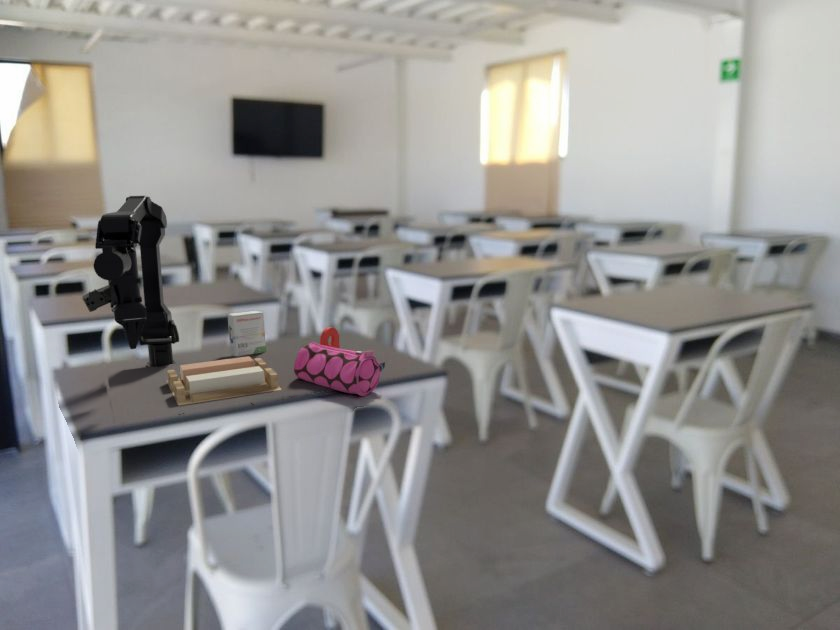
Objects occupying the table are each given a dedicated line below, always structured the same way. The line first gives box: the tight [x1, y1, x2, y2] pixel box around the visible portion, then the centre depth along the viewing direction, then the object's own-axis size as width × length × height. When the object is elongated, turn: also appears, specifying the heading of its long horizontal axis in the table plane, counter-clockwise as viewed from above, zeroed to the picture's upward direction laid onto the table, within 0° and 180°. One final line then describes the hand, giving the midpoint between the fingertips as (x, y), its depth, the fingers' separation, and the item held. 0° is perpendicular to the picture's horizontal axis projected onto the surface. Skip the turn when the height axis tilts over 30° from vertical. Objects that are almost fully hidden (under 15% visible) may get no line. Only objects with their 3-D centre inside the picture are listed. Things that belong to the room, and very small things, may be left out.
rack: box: [165, 357, 283, 407], centre depth 159 cm, size 20×22×4 cm
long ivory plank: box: [186, 366, 265, 399], centre depth 155 cm, size 4×16×4 cm, turn 116°
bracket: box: [319, 326, 341, 349], centre depth 184 cm, size 12×4×8 cm, turn 150°
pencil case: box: [293, 341, 386, 397], centre depth 159 cm, size 21×10×10 cm, turn 55°
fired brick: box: [179, 355, 255, 387], centre depth 164 cm, size 4×16×4 cm, turn 116°
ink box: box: [227, 310, 267, 358], centre depth 187 cm, size 9×5×12 cm, turn 123°
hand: (131, 344), depth 153 cm, fingers open, 9 cm apart
